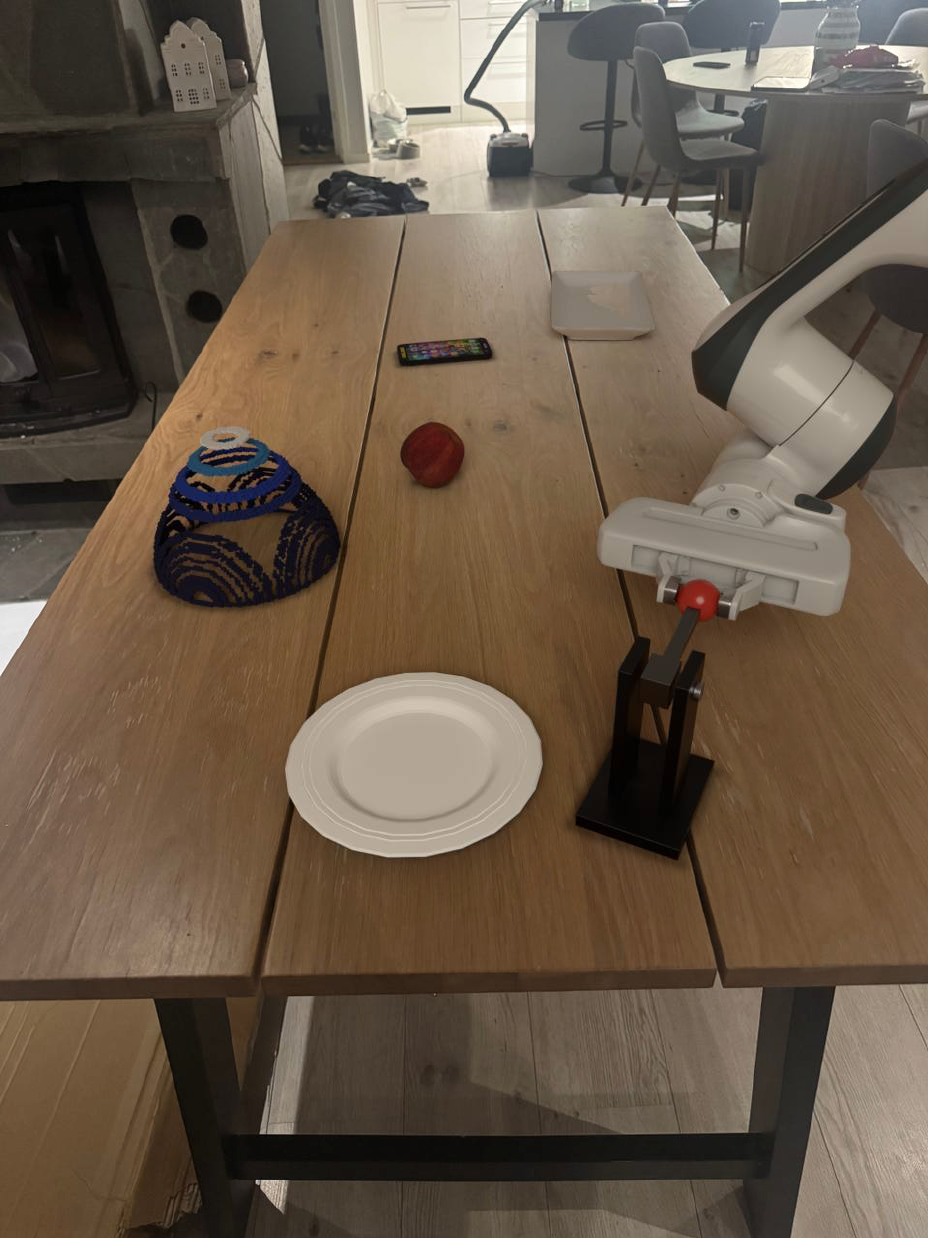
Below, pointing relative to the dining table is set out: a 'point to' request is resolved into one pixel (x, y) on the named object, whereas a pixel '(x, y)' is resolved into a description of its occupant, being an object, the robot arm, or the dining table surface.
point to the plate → (414, 765)
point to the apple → (433, 454)
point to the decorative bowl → (262, 489)
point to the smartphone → (444, 351)
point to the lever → (677, 643)
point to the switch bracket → (650, 765)
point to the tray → (591, 320)
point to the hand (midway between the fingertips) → (696, 604)
